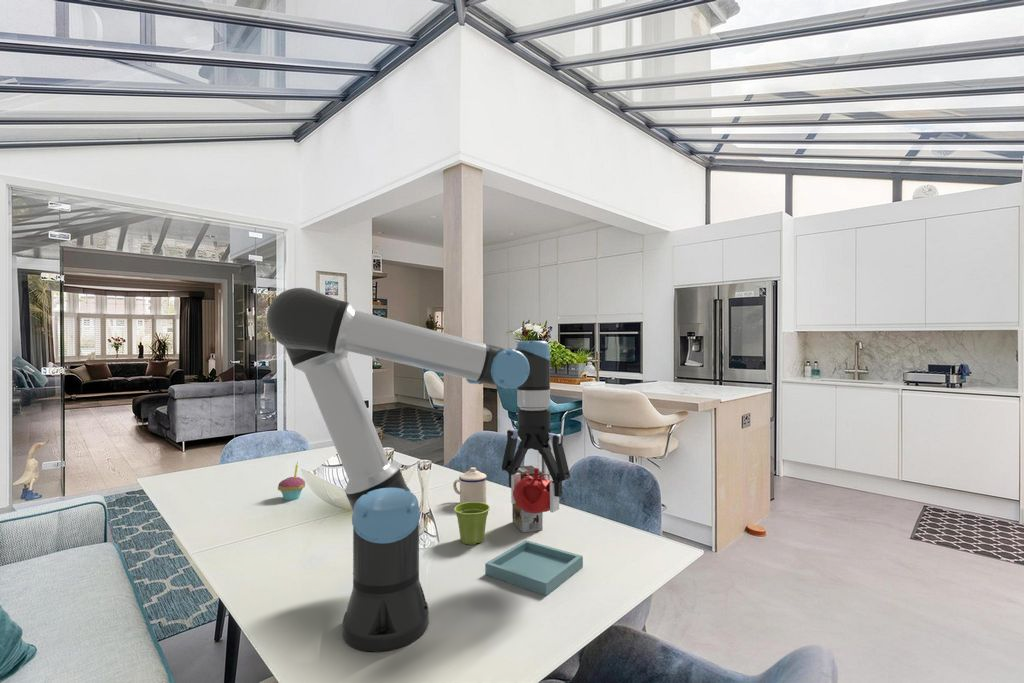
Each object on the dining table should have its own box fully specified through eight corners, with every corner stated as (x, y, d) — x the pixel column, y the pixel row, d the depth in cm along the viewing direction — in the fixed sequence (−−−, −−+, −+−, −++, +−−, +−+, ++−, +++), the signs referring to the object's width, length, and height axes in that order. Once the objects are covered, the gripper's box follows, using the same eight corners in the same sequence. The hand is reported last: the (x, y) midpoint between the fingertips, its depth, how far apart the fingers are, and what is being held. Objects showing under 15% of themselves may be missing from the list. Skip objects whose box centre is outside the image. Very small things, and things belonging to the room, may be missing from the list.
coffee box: (511, 521, 140) (511, 466, 140) (532, 519, 142) (531, 464, 142) (521, 533, 131) (521, 474, 131) (543, 530, 133) (543, 472, 133)
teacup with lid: (491, 501, 159) (491, 466, 159) (478, 509, 150) (478, 472, 151) (460, 496, 164) (460, 462, 164) (446, 504, 156) (446, 468, 156)
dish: (546, 595, 97) (546, 583, 98) (485, 574, 107) (485, 563, 107) (582, 566, 110) (582, 555, 110) (525, 550, 120) (525, 540, 120)
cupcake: (296, 493, 169) (297, 459, 169) (310, 497, 164) (310, 462, 164) (272, 499, 162) (273, 464, 162) (286, 504, 157) (286, 467, 157)
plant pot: (484, 549, 121) (484, 514, 121) (449, 546, 123) (449, 512, 123) (493, 535, 130) (493, 503, 130) (460, 532, 132) (460, 501, 132)
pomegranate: (507, 506, 112) (505, 466, 112) (545, 500, 115) (544, 461, 116) (523, 519, 102) (522, 475, 103) (565, 512, 106) (563, 470, 106)
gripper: (585, 409, 106) (586, 510, 105) (504, 403, 119) (505, 493, 119) (568, 413, 100) (570, 520, 99) (485, 406, 113) (486, 501, 112)
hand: (534, 506), depth 109 cm, fingers closed on pomegranate, 10 cm apart
